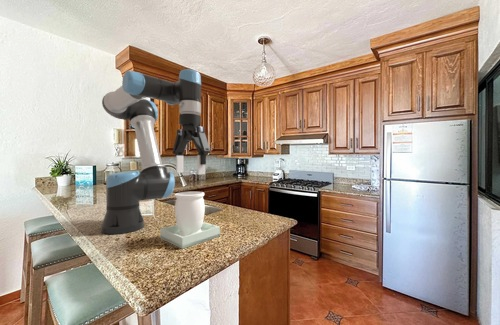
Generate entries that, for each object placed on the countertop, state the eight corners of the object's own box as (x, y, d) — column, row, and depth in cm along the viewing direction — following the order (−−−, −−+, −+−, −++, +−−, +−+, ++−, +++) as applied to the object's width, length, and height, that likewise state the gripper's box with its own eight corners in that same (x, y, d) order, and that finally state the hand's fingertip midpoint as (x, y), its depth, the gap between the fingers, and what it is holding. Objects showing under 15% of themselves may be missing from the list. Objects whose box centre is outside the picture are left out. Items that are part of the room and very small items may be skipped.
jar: (196, 240, 73) (196, 195, 73) (168, 238, 75) (168, 194, 75) (209, 230, 83) (209, 191, 83) (184, 229, 85) (184, 190, 85)
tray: (160, 238, 78) (160, 228, 78) (196, 228, 89) (196, 219, 89) (182, 249, 68) (182, 237, 68) (219, 236, 80) (219, 226, 80)
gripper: (163, 117, 84) (163, 172, 84) (202, 107, 68) (202, 175, 68) (180, 120, 90) (180, 171, 90) (221, 111, 73) (220, 174, 73)
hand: (189, 173), depth 79 cm, fingers open, 13 cm apart
